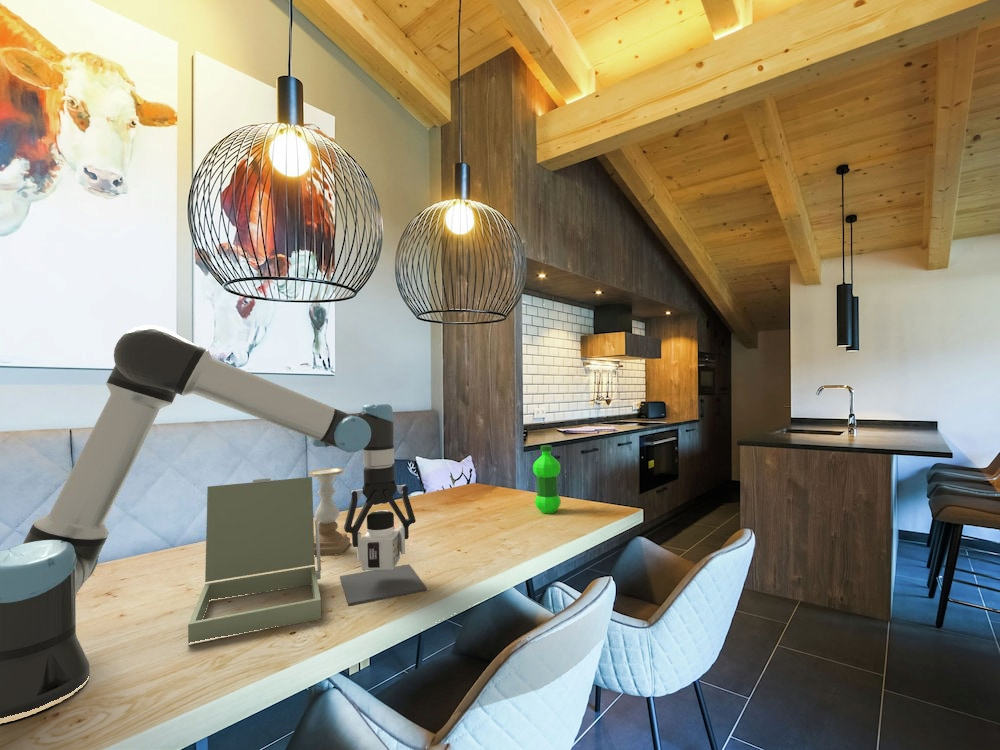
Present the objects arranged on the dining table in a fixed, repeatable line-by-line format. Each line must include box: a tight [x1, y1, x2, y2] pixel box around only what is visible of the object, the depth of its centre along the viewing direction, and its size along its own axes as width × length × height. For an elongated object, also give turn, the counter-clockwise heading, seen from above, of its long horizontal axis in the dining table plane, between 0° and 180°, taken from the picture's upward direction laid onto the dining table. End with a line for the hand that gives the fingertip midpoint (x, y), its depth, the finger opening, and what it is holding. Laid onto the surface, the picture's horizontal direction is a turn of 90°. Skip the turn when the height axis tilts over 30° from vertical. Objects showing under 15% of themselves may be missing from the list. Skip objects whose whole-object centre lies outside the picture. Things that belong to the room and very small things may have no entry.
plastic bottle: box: [532, 444, 562, 514], centre depth 188 cm, size 10×10×25 cm
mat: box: [339, 563, 428, 606], centre depth 122 cm, size 18×18×1 cm
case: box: [187, 519, 322, 644], centre depth 111 cm, size 25×25×15 cm
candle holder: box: [308, 467, 351, 556], centre depth 150 cm, size 11×11×24 cm
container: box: [361, 509, 401, 571], centre depth 122 cm, size 8×8×13 cm
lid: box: [204, 476, 316, 583], centre depth 123 cm, size 23×24×2 cm
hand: (381, 556), depth 122 cm, fingers closed on container, 10 cm apart
